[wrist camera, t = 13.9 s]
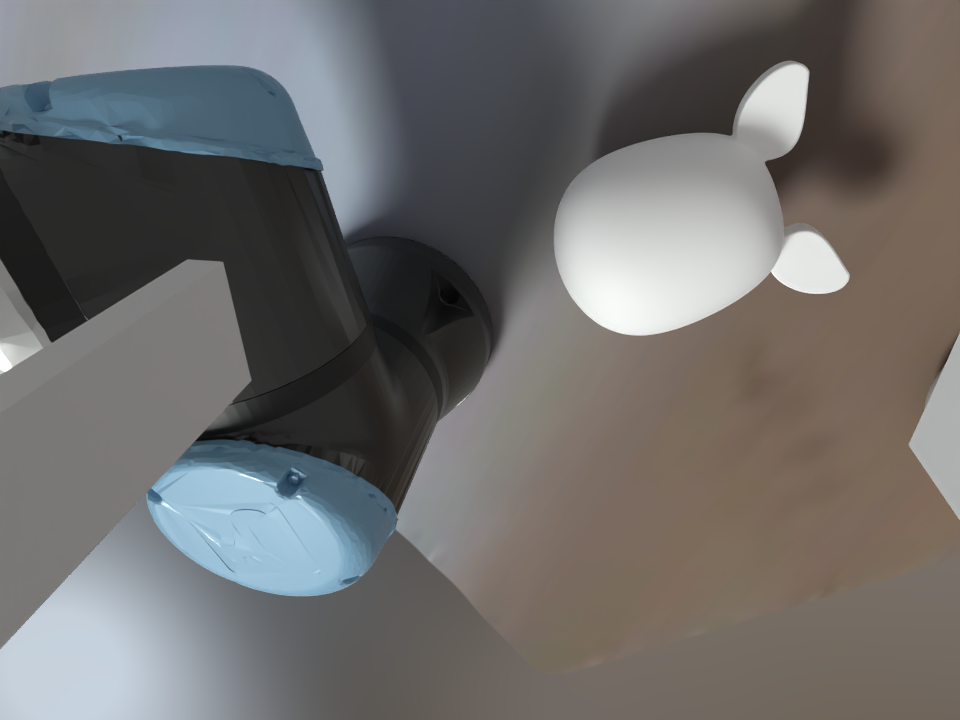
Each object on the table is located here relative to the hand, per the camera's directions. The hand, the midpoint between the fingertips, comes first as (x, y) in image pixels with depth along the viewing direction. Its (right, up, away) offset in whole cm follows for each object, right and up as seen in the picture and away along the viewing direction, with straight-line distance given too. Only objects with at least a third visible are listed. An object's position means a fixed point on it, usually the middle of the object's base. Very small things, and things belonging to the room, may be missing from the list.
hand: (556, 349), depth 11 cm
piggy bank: (+12, +10, +28) cm, 32 cm away
